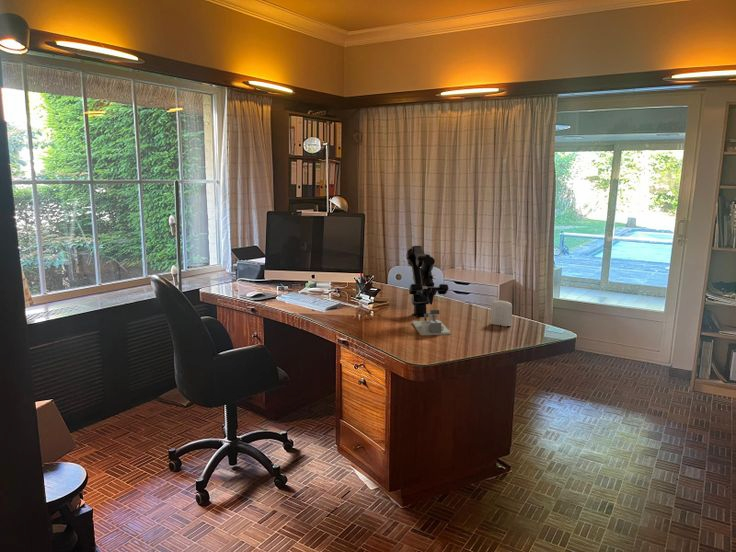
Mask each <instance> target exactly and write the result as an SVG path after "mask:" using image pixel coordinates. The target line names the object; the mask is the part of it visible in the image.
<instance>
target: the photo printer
mask: <svg viewBox="0 0 736 552" xmlns="http://www.w3.org/2000/svg"><path fill="white" fill-rule="evenodd" d="M490 313H491V314H490V324H491V325H494V326H495V325H496V326H500V325H501V327H507V326H511V327H512V319H513V318H512V317H513V304H512V303H511V302H509V301H506V300H493V301H492V302H491V312H490Z"/></svg>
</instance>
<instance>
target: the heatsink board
mask: <svg viewBox="0 0 736 552" xmlns="http://www.w3.org/2000/svg"><path fill="white" fill-rule="evenodd" d="M426 314H427V313H426ZM426 314H424V316H423V320H416V321H415V320H413V321H412V325H413V326H414V327H415V329H416V331H417V332H418V333H419V335H420V336H421V335H422V336H441V335H443V336H444V335H445V336H446V335H452V334H451V333H452V332H451V331H450V330H449V329H448V328H447V326H446V325H445V324H444V323H443V321H441V320H440V319H436V315H434V316H433V317H432V319H428V320H427V317H426V316H427V315H426Z"/></svg>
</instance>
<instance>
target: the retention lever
mask: <svg viewBox="0 0 736 552" xmlns="http://www.w3.org/2000/svg"><path fill="white" fill-rule="evenodd" d="M426 314H427V316H426V318H433V316H434V315H435V316H437V315H438V316H439V315H440V309H431V310H429V313H426Z"/></svg>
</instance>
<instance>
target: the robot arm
mask: <svg viewBox="0 0 736 552" xmlns="http://www.w3.org/2000/svg"><path fill="white" fill-rule="evenodd" d="M405 255H406V256H405V257H406V258H405V259H406V261H407V262H408V263H407V264H408V265H409V266H410V267H411V271H412V277H413V278H412V279H413V283H412V284H410V285H409V289H408V294H409V295H412V297H411V304H412V305H413V313H411V315H412V316H414V317H419V318H420V317H424V314H426V315H427V314H428V313H427V305H431V306H432V304H433V301H434V297H435V296H436V295H437V294H439V295H447V292H448V291H449V289H450V288H449V284H447V283H440V284H439V285H438V286H435V282H434V275H433V273H432V271H433V269H434V267H435V262H436V260H435V258H433V256H431V255H430V254H427V253H425V252H424V250H423V248H422V245H413V246H411V248H409V249H408V250H407V251H406V254H405Z"/></svg>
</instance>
